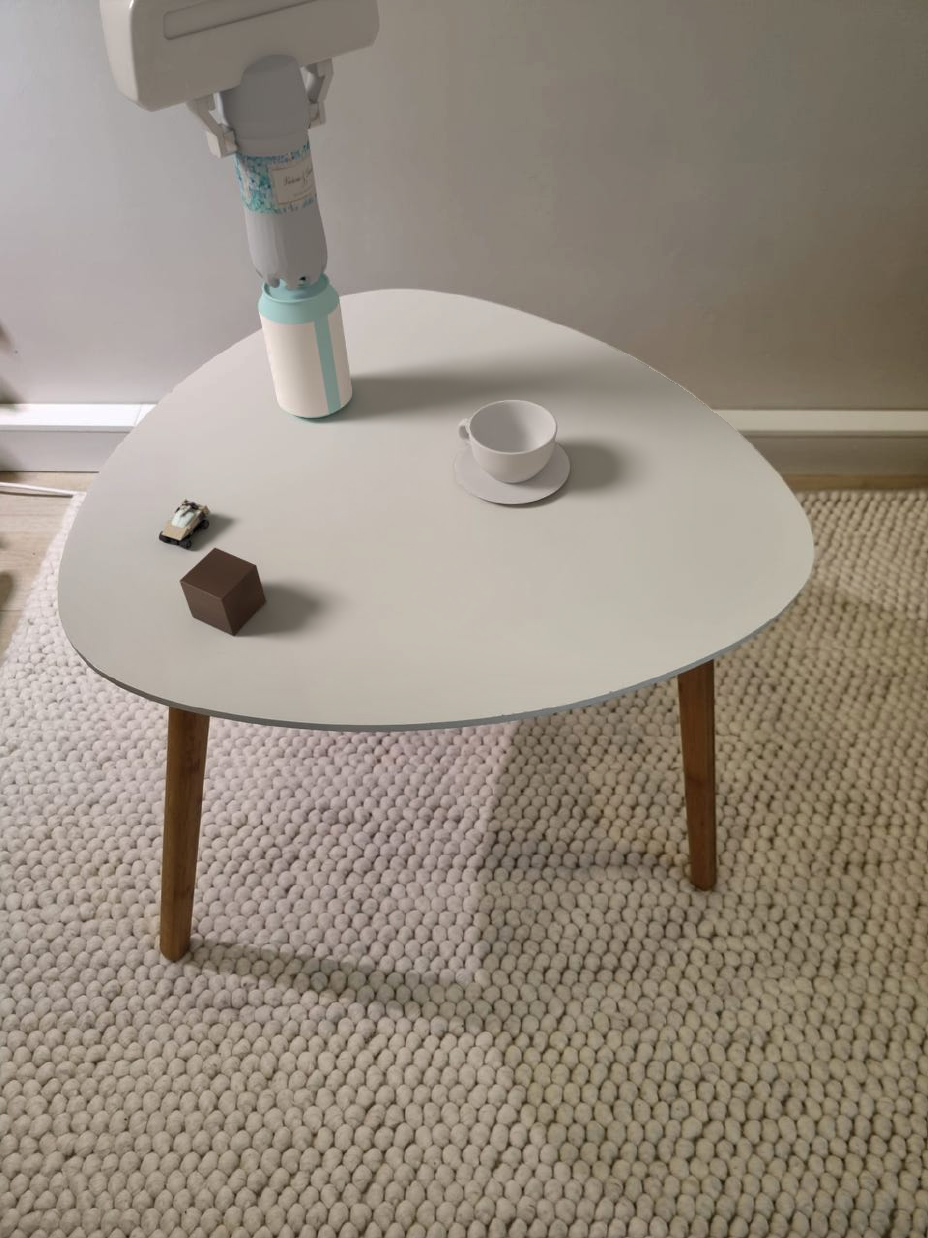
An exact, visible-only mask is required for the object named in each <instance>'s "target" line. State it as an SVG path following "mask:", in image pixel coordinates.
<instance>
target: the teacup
mask: <svg viewBox="0 0 928 1238" xmlns="http://www.w3.org/2000/svg"><path fill="white" fill-rule="evenodd" d="M467 430H468V431H467ZM457 433H458V436H459V438H460V439H461V441H463V442H464V443H465V445H464V446H462V448H461V449H460V450H459V452H458V453H457V454H456V457H455V459H454V466H453V467H454V469H453V470H454V475H455V477H456V480H457V481H458V483H459V484H460V486H462V488H464V490H466V491H467V492H469V493H470V494H472V495H473V496H475V497H477V498H479V499H481V500H485V501H488V502H490V503H497V504H504V505H505V504H506V505H518V504H519V505H521V504H528V503H532V502H535V501H539V500H542V499H544V498H546V497H549V496H550V495H552V494H553V493H556V491H558V490H559V489H560V488H561V487H562V486H563V485H564V484H565V483H566V481H567V479H568V477H569V474H570V470H571V462H570V459H569V457H568V454H567V452H566V451H565V450H564V449H563V447H562V446H561V445H559V444H558V443H557V442H556V439H557V433H558V422H557V419H556V418H555V416H554V415H553V414H552V413H551V412H550V411H549V410H548V409H547V408H546V407H544V406H542V405H540V404H537V403H535V402H532V401H528V400H524V399H523V400H521V399H505V400H498V401H494V402H491V403H488V404H486V405H484V406H482V407H480V408H479V409H478V410H477V411H475V412H474V413H473V414H472V416H471V417H465V418H463V419H462V420H460V422H459V423H458V425H457Z"/></svg>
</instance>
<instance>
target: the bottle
mask: <svg viewBox="0 0 928 1238" xmlns="http://www.w3.org/2000/svg"><path fill="white" fill-rule="evenodd" d="M305 88H306V85H305V82H304V78H303V75H302V71H301V68H300V67H299V64H298V61H297V59H296V58H294V57H291V56H286V55H270V56H266V57H263V58H261V59H260V60H258V61H256V62H255V63H254V64H253V65H251V66H250V67H249V68H248V69H247V70H246V71H244V73H243V74H242V77H241V83H240V85H239V86H238V87H234V88H231V89H228V90H224V91H221V92H218V93H216V94H217V111H218V113H219V116H220V118H221V120H222V121H221V122H222V123H223V124H225V125H226V126H227V127H230V128H232V129H233V130H234V132H235V137H236V141H235V144H236V145H237V147H238V153H235V154H233V155H232V157H233V162H234V166H235V171H236V177H237V182H238V188H239V191H240V197H241V202H242V206H243V211H244V217H245V218H244V219H245V226H246V234H247V240H248V247H249V254H250V258H251V262H252V265H253V267H254V270H255V271H256V273H257V274H258V276H259V277H260V278H261V279H263V282H264V281H265V282H266V283H267V284H268V285H269V286H270V287H273V288H278V287H279V286H280V279H282V280H283V281H285V283H286V285H287V286H288V288H289V289H290V290H295V289H297V288H298V282H299V280H300V278H301V277H304V276H305V278H306V282H307V283H308V284H310V285H312V284H314V283H315V282H317V281H318V279H319V276H320V275H321V274H322V273H325V272H326V269H327V265H328V259H329V257H328V244H327V239H326V233H325V230H324V225H323V220H322V215H321V212H320V206H319V201H318V194H317V193H318V192H317V186H316V178H315V171H314V164H313V158H312V150H311V143H310V138H309V137H310V136H309V129H308V128H309V125H310V119H311V118H310V115H309V111H308V108H309V99H308V96H307V93H306V89H305Z"/></svg>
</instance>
